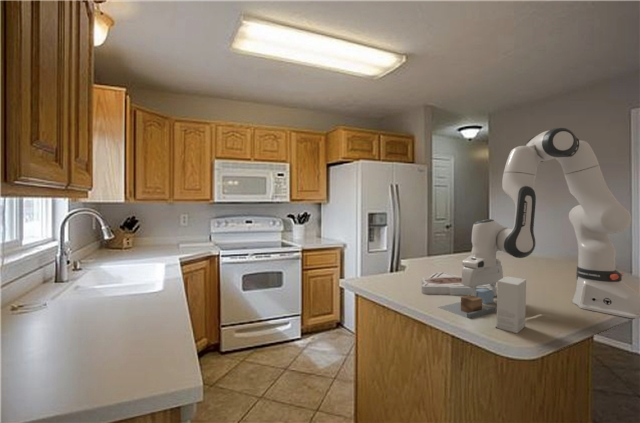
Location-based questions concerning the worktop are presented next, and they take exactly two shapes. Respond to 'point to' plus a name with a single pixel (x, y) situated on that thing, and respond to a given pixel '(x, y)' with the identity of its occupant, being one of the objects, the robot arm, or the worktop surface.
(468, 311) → the walnut block
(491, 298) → the blue block
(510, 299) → the skincare box
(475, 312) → the grey flat square slab
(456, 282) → the decorative sign
